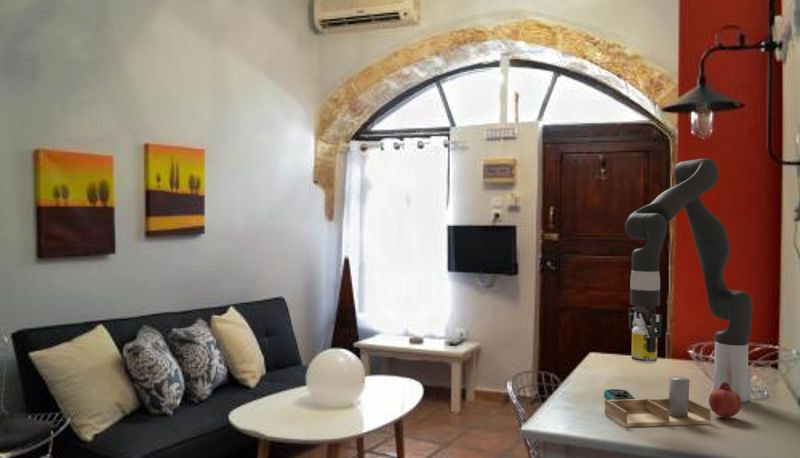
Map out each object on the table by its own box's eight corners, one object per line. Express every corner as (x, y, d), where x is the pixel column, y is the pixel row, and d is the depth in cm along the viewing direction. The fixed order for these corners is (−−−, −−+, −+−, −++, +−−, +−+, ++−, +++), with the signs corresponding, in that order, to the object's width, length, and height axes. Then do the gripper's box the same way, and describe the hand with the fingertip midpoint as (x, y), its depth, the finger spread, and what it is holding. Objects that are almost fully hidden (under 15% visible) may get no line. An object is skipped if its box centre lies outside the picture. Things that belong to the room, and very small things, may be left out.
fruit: (702, 416, 187) (703, 380, 187) (717, 412, 192) (718, 377, 192) (731, 424, 181) (732, 386, 181) (746, 419, 186) (747, 382, 186)
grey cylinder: (680, 412, 188) (682, 376, 188) (691, 417, 183) (693, 381, 183) (664, 412, 187) (666, 376, 187) (675, 418, 182) (677, 381, 182)
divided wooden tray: (686, 411, 192) (686, 397, 192) (710, 423, 181) (710, 409, 181) (604, 414, 189) (605, 400, 189) (624, 427, 177) (624, 411, 177)
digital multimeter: (627, 398, 208) (627, 388, 208) (641, 411, 193) (641, 401, 193) (603, 397, 209) (603, 388, 209) (615, 411, 194) (615, 401, 194)
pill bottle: (637, 364, 178) (638, 320, 178) (627, 359, 185) (628, 316, 185) (661, 364, 179) (662, 320, 179) (650, 359, 185) (651, 316, 185)
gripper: (672, 290, 175) (671, 354, 175) (645, 284, 189) (644, 344, 189) (645, 290, 174) (644, 355, 174) (619, 285, 188) (618, 345, 188)
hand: (644, 349), depth 182 cm, fingers closed on pill bottle, 6 cm apart
